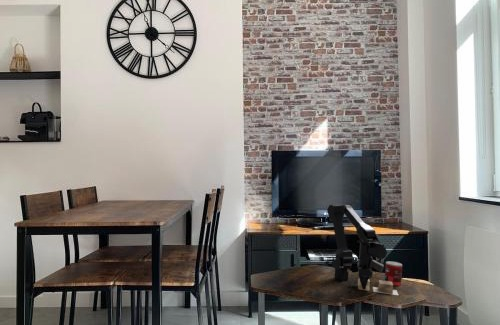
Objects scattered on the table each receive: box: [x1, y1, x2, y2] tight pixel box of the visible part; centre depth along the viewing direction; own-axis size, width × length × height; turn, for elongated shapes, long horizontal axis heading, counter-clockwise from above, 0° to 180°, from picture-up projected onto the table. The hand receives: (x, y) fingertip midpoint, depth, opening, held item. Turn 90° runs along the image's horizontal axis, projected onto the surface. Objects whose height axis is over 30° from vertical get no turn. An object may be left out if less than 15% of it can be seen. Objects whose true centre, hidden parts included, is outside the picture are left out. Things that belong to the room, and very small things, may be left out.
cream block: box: [377, 280, 394, 295], centre depth 180 cm, size 6×6×4 cm
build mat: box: [372, 286, 399, 296], centre depth 180 cm, size 11×8×1 cm
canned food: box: [384, 260, 403, 287], centre depth 195 cm, size 8×8×11 cm
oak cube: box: [357, 278, 371, 292], centre depth 182 cm, size 5×5×5 cm
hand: (363, 286), depth 182 cm, fingers open, 9 cm apart
